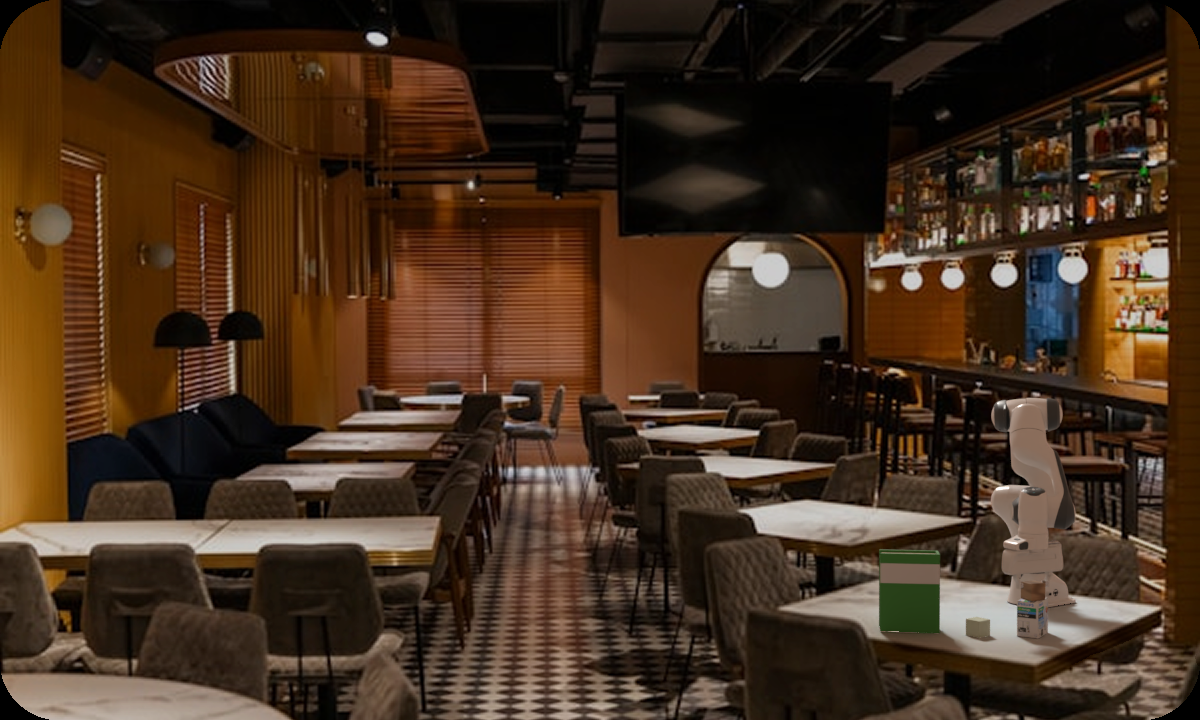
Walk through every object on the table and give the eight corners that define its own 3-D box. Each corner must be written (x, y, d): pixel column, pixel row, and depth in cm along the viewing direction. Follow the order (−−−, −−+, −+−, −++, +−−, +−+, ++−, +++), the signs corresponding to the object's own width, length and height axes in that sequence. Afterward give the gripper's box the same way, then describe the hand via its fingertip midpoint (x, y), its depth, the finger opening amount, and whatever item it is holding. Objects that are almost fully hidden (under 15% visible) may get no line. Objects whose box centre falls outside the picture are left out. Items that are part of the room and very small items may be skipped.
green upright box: (880, 632, 445) (880, 553, 444) (878, 626, 452) (879, 549, 452) (939, 633, 443) (940, 554, 442) (937, 628, 450) (937, 550, 449)
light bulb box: (1038, 639, 435) (1038, 603, 434) (1016, 636, 438) (1016, 600, 438) (1048, 632, 444) (1048, 597, 444) (1026, 630, 447) (1026, 594, 447)
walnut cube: (1034, 596, 444) (1034, 580, 444) (1045, 599, 439) (1045, 583, 439) (1020, 598, 442) (1020, 581, 442) (1031, 601, 437) (1031, 584, 437)
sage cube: (976, 633, 443) (976, 616, 443) (990, 636, 439) (990, 619, 439) (965, 635, 440) (965, 618, 440) (979, 638, 436) (979, 621, 436)
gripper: (1054, 538, 447) (1054, 583, 448) (998, 542, 440) (998, 588, 440) (1068, 541, 441) (1067, 586, 442) (1011, 545, 434) (1011, 592, 434)
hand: (1032, 587), depth 441 cm, fingers open, 8 cm apart
